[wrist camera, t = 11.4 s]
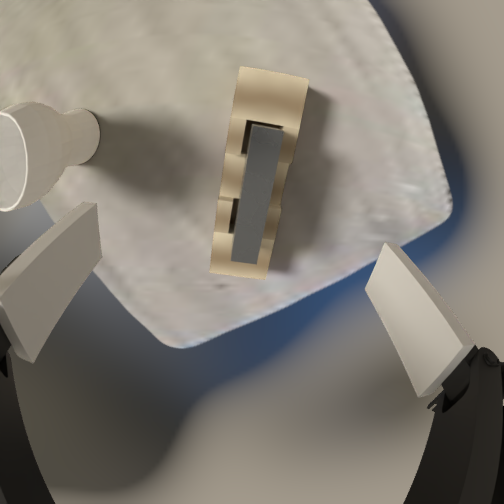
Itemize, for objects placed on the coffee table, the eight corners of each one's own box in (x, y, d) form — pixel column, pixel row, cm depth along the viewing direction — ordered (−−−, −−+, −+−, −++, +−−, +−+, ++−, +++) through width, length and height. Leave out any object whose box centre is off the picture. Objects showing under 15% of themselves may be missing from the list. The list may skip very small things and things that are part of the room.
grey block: (251, 122, 28) (253, 125, 21) (274, 126, 28) (284, 131, 21) (233, 227, 34) (230, 260, 27) (254, 230, 34) (256, 264, 27)
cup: (122, 114, 27) (46, 126, 14) (92, 186, 31) (23, 236, 18) (65, 88, 24) (-15, 94, 11) (41, 157, 28) (-32, 191, 15)
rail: (240, 71, 25) (240, 66, 22) (301, 83, 26) (309, 79, 23) (212, 256, 37) (209, 272, 33) (263, 263, 38) (265, 279, 34)
